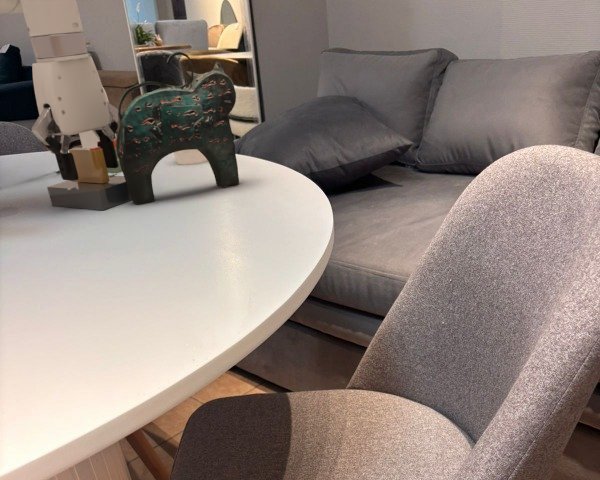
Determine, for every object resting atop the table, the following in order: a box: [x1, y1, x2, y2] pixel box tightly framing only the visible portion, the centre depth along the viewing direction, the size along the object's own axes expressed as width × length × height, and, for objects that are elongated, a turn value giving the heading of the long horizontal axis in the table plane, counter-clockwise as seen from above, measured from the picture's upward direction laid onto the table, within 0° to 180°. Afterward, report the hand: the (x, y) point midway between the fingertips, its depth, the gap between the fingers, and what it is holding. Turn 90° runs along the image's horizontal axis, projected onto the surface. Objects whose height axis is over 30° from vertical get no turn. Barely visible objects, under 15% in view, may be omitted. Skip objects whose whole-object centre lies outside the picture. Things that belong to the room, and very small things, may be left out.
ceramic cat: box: [116, 51, 240, 205], centre depth 98 cm, size 20×6×20 cm, turn 116°
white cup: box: [173, 149, 208, 166], centre depth 124 cm, size 8×8×10 cm
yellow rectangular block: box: [68, 147, 110, 184], centre depth 101 cm, size 6×2×5 cm, turn 58°
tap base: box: [46, 173, 132, 211], centre depth 104 cm, size 12×10×3 cm
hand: (91, 172), depth 102 cm, fingers open, 7 cm apart
